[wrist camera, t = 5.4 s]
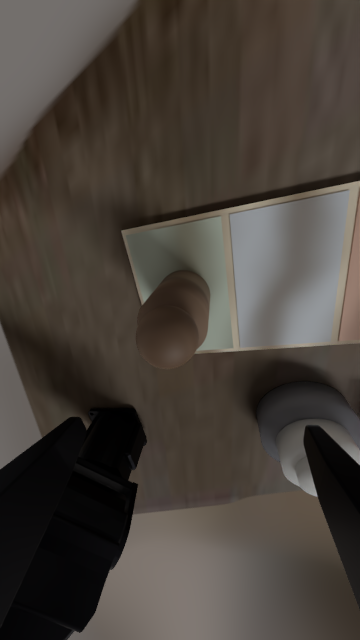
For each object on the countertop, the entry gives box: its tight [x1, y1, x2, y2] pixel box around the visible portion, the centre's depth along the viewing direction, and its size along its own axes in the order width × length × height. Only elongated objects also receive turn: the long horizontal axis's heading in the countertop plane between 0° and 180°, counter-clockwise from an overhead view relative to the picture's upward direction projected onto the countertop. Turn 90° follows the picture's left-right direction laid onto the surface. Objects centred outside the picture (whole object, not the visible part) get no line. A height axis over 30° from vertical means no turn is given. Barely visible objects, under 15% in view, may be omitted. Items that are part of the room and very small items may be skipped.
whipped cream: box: [276, 419, 360, 497], centre depth 19 cm, size 6×6×3 cm
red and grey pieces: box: [256, 382, 360, 462], centre depth 21 cm, size 14×9×4 cm, turn 100°
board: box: [121, 181, 360, 354], centre depth 17 cm, size 24×12×1 cm, turn 100°
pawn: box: [136, 270, 211, 369], centre depth 14 cm, size 4×4×9 cm
